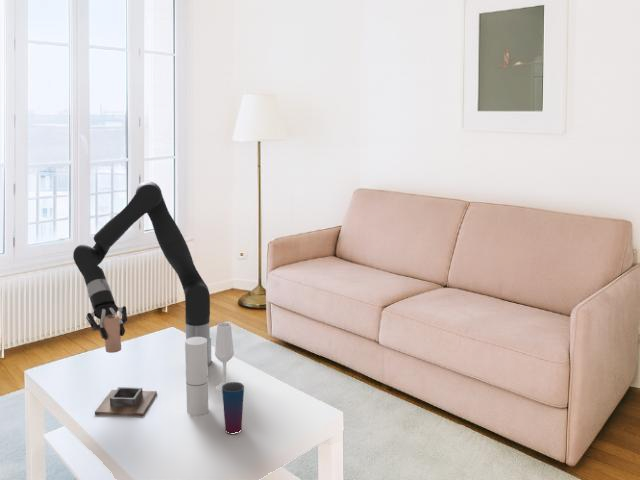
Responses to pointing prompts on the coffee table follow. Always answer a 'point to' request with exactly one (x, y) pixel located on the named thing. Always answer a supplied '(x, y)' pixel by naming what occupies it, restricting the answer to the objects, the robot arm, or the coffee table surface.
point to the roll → (112, 333)
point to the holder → (126, 402)
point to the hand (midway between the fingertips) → (114, 336)
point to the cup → (233, 406)
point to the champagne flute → (224, 347)
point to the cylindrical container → (196, 375)
